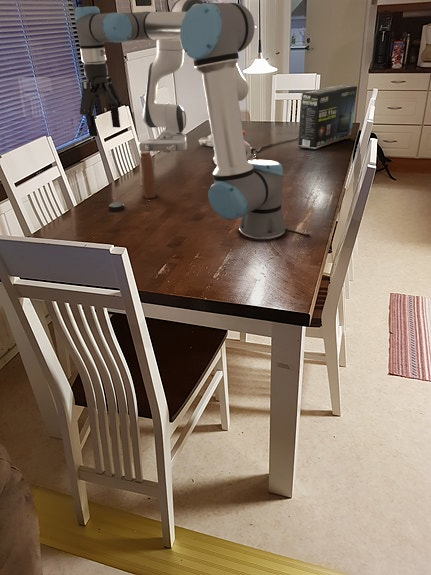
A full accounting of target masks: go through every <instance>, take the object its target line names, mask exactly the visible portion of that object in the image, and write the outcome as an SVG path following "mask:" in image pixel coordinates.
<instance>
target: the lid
mask: <svg viewBox="0 0 431 575" xmlns="http://www.w3.org/2000/svg"><path fill="white" fill-rule="evenodd" d="M124 209H125V206H124V202H120V201H116V202H111V203H110V204H109V210H110V211H111V212H121V211H123V210H124Z"/></svg>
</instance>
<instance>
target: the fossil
mask: <svg viewBox="0 0 431 575" xmlns="http://www.w3.org/2000/svg"><path fill="white" fill-rule="evenodd" d="M198 142H199V144H200V146H203V147H204V146H207V147H213V148H214V146H213V139H212V133H210V134H208V135H207V137H205V136H203V137H201V138H199V139H198Z"/></svg>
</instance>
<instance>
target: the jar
mask: <svg viewBox="0 0 431 575" xmlns="http://www.w3.org/2000/svg"><path fill="white" fill-rule="evenodd" d="M139 162H140V171H141V179H142V187H143V194H144V198H145V199H154V198H155V197H156V196H157V195H156V184H155V176H154V167H153V158H152V155H151V151H140V152H139Z"/></svg>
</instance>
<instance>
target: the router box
mask: <svg viewBox="0 0 431 575" xmlns="http://www.w3.org/2000/svg"><path fill="white" fill-rule="evenodd" d="M357 93H358V86H356V85H350V84H339V85H338V84H337V85H334V86H328V87H324V88H318V89H314V90H309V91H304V92H301V93H300V109H299V110H300V111H299V124H298V136H297V137H298V138H297V146H298V145H302V146H307V147H317V146H320V145H323V144H325V143H328V142H331V141H333V140H336V139H338V138H341V137H344V136H347V135H351V136H352V133H353V132H352V131H353V125H354V115H355V109H356V99H357ZM311 151H313V150H312V149H311Z"/></svg>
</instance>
